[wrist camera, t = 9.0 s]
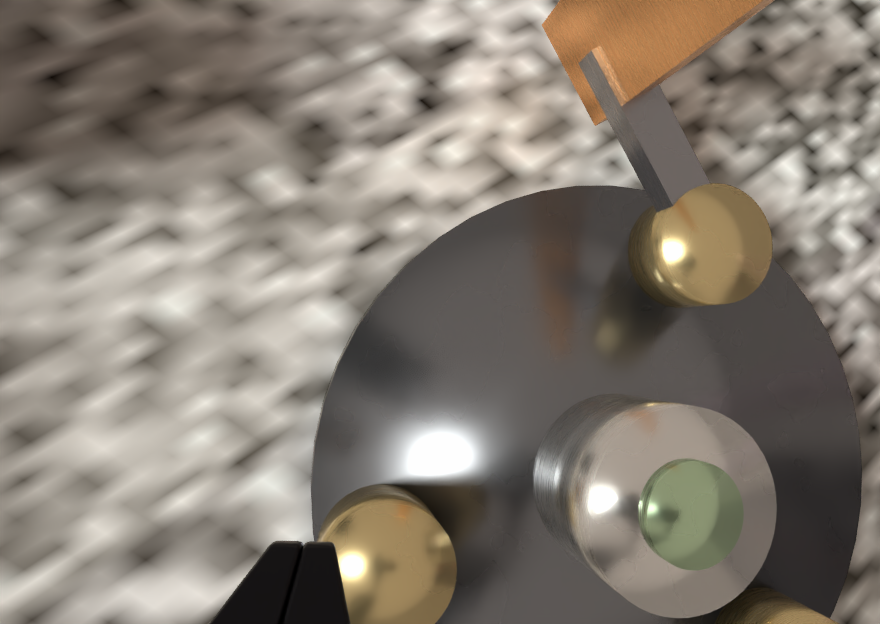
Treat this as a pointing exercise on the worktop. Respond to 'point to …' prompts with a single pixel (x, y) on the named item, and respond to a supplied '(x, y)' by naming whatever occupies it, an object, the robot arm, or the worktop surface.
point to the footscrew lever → (665, 142)
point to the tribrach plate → (559, 346)
